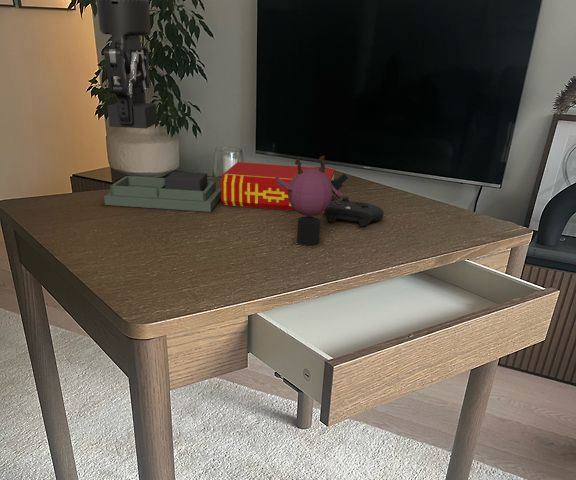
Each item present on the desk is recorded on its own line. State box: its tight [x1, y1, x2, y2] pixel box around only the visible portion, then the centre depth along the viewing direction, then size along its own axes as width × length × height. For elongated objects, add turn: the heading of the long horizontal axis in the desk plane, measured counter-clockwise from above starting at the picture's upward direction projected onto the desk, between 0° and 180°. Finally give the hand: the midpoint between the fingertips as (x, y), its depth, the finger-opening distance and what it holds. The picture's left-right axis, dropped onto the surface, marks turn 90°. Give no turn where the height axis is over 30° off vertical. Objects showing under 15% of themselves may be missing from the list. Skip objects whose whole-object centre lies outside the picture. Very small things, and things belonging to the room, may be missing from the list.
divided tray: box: [103, 175, 221, 213], centre depth 104 cm, size 18×10×3 cm, turn 85°
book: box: [220, 161, 336, 214], centre depth 106 cm, size 18×13×5 cm
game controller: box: [325, 196, 385, 228], centre depth 98 cm, size 10×5×6 cm
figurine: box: [275, 155, 349, 246], centre depth 84 cm, size 8×8×12 cm
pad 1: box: [106, 102, 158, 129], centre depth 96 cm, size 6×6×3 cm
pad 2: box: [164, 171, 208, 191], centre depth 103 cm, size 6×6×3 cm
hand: (133, 120), depth 97 cm, fingers closed on pad 1, 6 cm apart
